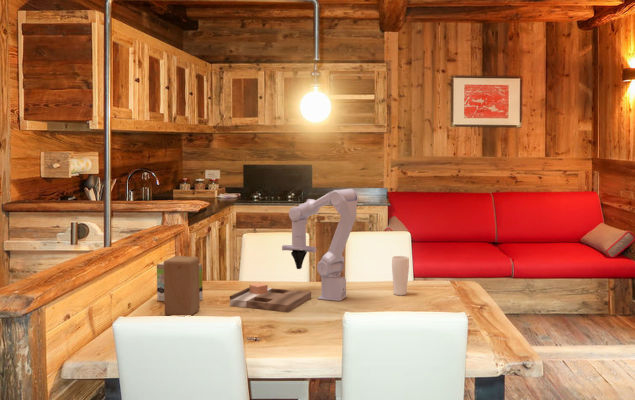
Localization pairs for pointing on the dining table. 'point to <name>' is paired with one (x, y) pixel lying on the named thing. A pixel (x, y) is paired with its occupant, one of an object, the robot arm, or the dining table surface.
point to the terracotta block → (258, 288)
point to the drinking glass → (400, 274)
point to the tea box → (161, 282)
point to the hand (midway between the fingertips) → (299, 268)
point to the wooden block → (181, 285)
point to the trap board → (270, 299)
